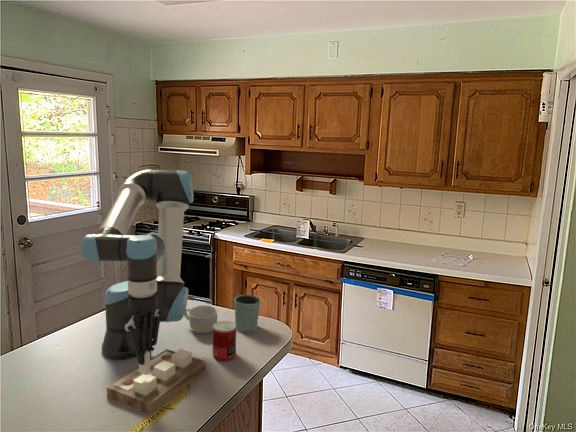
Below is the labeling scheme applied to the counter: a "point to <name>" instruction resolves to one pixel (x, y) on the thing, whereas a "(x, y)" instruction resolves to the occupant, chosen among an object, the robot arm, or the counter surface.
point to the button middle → (164, 370)
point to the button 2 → (182, 358)
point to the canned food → (224, 340)
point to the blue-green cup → (246, 313)
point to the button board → (164, 390)
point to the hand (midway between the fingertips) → (144, 372)
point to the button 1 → (145, 384)
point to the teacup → (202, 318)
